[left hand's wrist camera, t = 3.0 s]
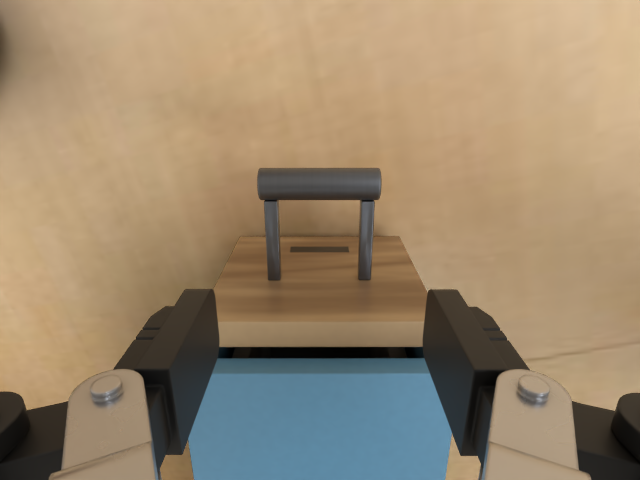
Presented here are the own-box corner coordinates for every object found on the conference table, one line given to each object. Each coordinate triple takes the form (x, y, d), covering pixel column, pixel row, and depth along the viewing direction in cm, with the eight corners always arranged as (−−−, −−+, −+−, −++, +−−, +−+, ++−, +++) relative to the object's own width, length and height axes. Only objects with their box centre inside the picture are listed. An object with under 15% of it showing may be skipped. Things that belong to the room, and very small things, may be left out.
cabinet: (235, 255, 27) (178, 373, 16) (404, 255, 27) (460, 373, 16) (254, 499, 35) (224, 690, 24) (385, 499, 35) (415, 690, 24)
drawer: (233, 148, 24) (180, 190, 15) (405, 148, 24) (458, 190, 15) (257, 484, 33) (234, 637, 24) (381, 483, 33) (405, 637, 24)
